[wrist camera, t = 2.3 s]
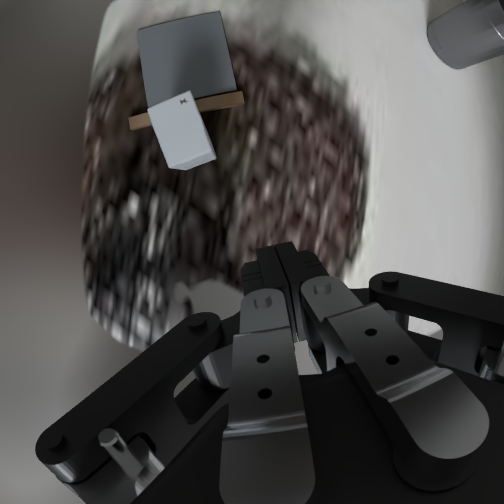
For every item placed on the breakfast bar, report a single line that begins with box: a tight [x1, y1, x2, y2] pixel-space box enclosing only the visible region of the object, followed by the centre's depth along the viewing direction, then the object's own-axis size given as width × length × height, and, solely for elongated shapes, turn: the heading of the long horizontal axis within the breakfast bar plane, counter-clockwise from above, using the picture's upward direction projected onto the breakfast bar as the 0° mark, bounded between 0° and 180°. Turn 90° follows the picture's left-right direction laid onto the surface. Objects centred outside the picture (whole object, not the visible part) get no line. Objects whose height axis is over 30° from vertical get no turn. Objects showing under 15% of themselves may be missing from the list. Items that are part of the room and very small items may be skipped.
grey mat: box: [137, 12, 237, 108], centre depth 34 cm, size 11×12×1 cm
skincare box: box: [147, 90, 216, 170], centre depth 31 cm, size 6×4×12 cm
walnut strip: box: [129, 91, 244, 130], centre depth 35 cm, size 14×2×1 cm, turn 101°
